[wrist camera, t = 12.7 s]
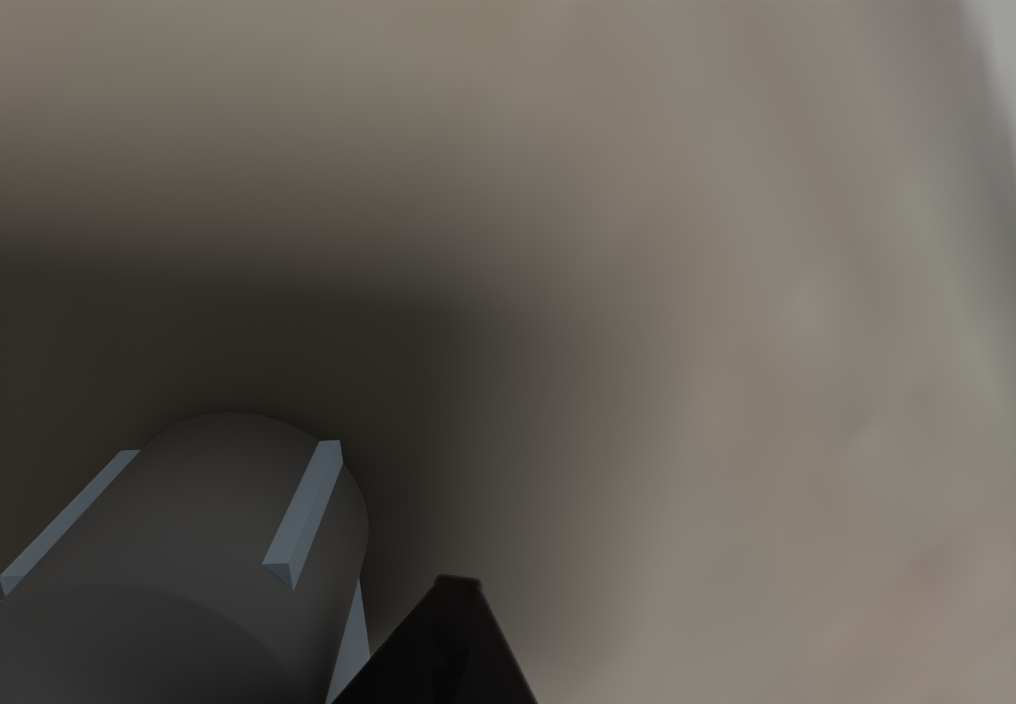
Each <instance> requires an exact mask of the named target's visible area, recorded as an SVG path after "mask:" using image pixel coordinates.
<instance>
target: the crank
mask: <svg viewBox="0 0 1016 704" xmlns="http://www.w3.org/2000/svg"><path fill="white" fill-rule="evenodd" d="M368 538H369V519H368V513H367V509H366V504H365V501H364V498H363V496H362V493H361V490H360V488H359V486H358V485H357V483H356V481H355V479H354V477H353V476H352V474H351V473H350V471H349V470H348V469H347V467H346V466H345V464H344V463H343V459H342V452H341V445H340V440H330V441H319V440H317V439H316V438H314V437H313V436H311V435H310V434H308V433H307V432H305V431H303V430H301V429H299V428H297V427H295V426H293V425H291V424H288V423H285V422H283V421H280V420H277V419H274V418H270V417H266V416H262V415H258V414H250V413H242V412H221V413H211V414H205V415H201V416H196V417H192V418H189V419H186V420H184V421H181V422H179V423H176V424H174V425H172V426H171V427H169V428H167V429H165V430H163V431H162V432H160V433H159V434H158V435H156V436H155V437H154V438H152V439H151V440H150V441H149V442H148V443H147V444H146V445H145V446H144V447H143V448H142V449H141V450H125V451H120V452H119V453H118V454H117V455H116V456H115V457H114V458H113V459H112V460H111V461H110V462H109V463H108V464H107V465H106V466H105V467H104V468H103V470H102V471H101V472H100V473H99V474H98V475H97V476H96V477H95V478H94V479H93V480H92V481H91V482H90V483H89V484H88V485H87V486H86V487H85V488H84V489H83V490H82V491H81V492H80V493H79V494H78V495H77V496H76V497H75V498H74V499H73V500H72V502H71V503H70V504H69V505H68V506H67V507H66V508H65V509H64V510H63V511H62V512H61V513H60V514H59V515H58V516H57V517H56V518H55V519H54V520H53V521H52V522H51V523H50V524H49V525H48V526H47V527H46V528H45V529H44V530H43V531H42V532H41V534H40V535H39V536H38V537H37V538H36V539H35V540H34V541H33V542H32V543H31V544H30V545H29V546H28V547H27V548H26V549H25V550H24V551H23V552H22V553H21V554H20V555H19V556H18V557H17V558H16V559H15V560H14V561H13V562H12V563H11V564H10V566H9V567H8V568H7V569H6V570H5V571H4V572H3V573H2V574H1V575H0V583H1V586H2V589H3V591H4V594H5V598H4V599H3V600H2V601H1V602H0V704H331V703H332V702H333V701H334V699H335V698H336V697H337V696H338V695H339V694H340V693H341V691H342V690H343V689H344V688H345V687H346V686H347V685H348V683H349V682H350V681H351V680H352V679H353V678H354V676H355V675H356V674H357V673H358V672H359V671H360V670H361V668H362V667H363V666H364V665H365V664H366V663H367V661H368V660H369V659H370V652H369V645H368V638H367V630H366V623H365V616H364V609H363V602H362V595H361V588H360V580H359V576H360V572H361V569H362V565H363V561H364V558H365V554H366V550H367V546H368Z"/></svg>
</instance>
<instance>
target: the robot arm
mask: <svg viewBox="0 0 1016 704" xmlns="http://www.w3.org/2000/svg"><path fill="white" fill-rule="evenodd" d="M331 704H538V703H537V701H536V699H535V697H534V695H533V693H532V691H531V689H530V687H529V685H528V683H527V681H526V679H525V677H524V675H523V673H522V671H521V669H520V667H519V664H518V662H517V660H516V658H515V656H514V654H513V652H512V650H511V648H510V646H509V644H508V642H507V640H506V638H505V636H504V634H503V632H502V630H501V628H500V626H499V624H498V622H497V620H496V618H495V616H494V614H493V612H492V610H491V608H490V606H489V604H488V602H487V600H486V598H485V596H484V594H483V592H482V583H481V581H480V580H479V579H476V578H469V577H462V576H454V575H446V574H440V575H438V576H437V577H436V579H435V582H434V586H433V587H432V588H431V589H430V590H429V591H428V592H427V594H426V595H425V596H424V597H423V598H422V599H421V600H420V602H419V603H418V604H417V605H416V606H415V607H414V609H413V610H412V611H411V612H410V613H409V614H408V615H407V617H406V618H405V619H404V620H403V621H402V622H401V624H400V625H399V626H398V627H397V628H396V629H395V630H394V632H393V633H392V634H391V635H390V636H389V637H388V638H387V640H386V641H385V642H384V643H383V644H382V645H381V647H380V648H379V649H378V650H377V651H376V652H375V653H374V655H373V656H372V657H371V658H370V659H369V660H368V661H367V663H366V664H365V665H364V666H363V667H362V668H361V670H360V671H359V672H358V673H357V674H356V675H355V676H354V678H353V679H352V680H351V681H350V682H349V683H348V685H347V686H346V687H345V688H344V689H343V690H342V691H341V693H340V694H339V695H338V696H337V697H336V698H335V699H334V701H333V702H332V703H331Z"/></svg>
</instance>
